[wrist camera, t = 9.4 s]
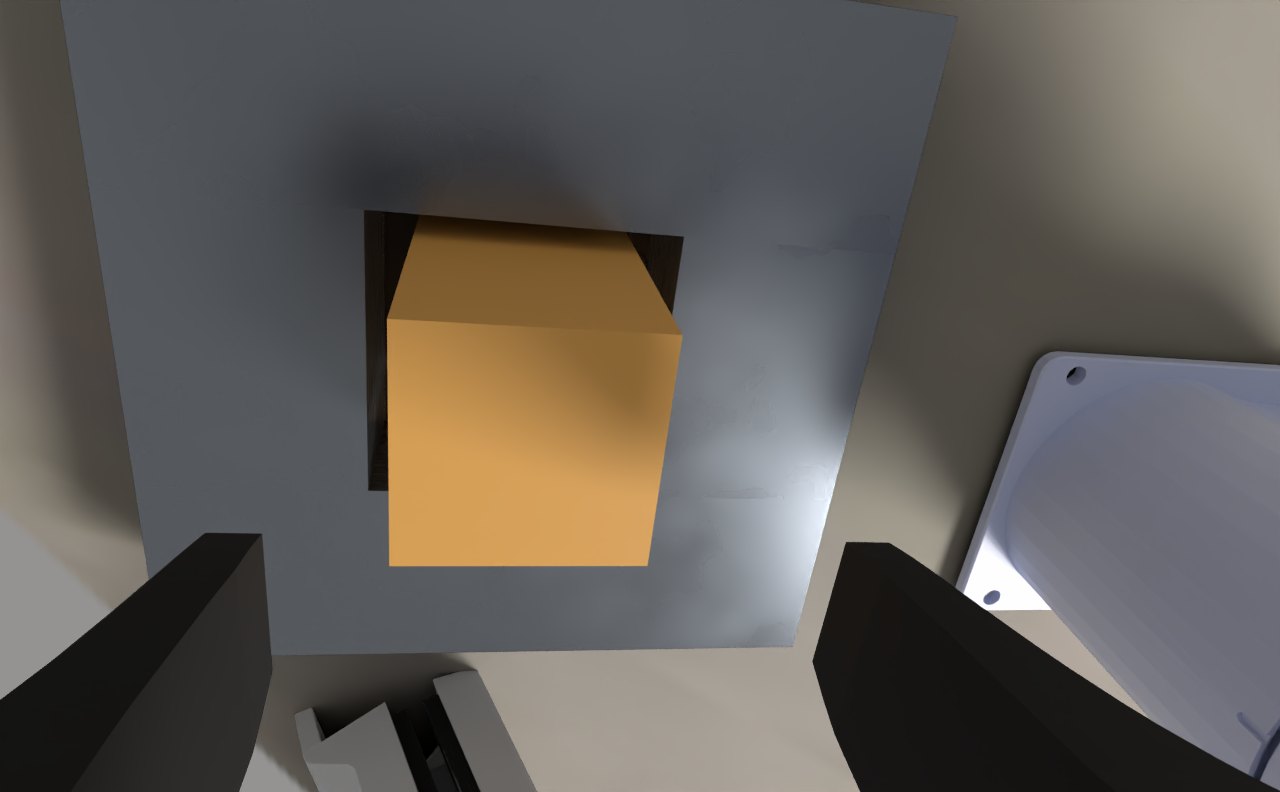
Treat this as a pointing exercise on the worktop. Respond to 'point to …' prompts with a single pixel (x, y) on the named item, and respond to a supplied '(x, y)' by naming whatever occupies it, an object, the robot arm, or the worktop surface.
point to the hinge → (419, 747)
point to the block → (525, 397)
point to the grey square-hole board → (500, 191)
